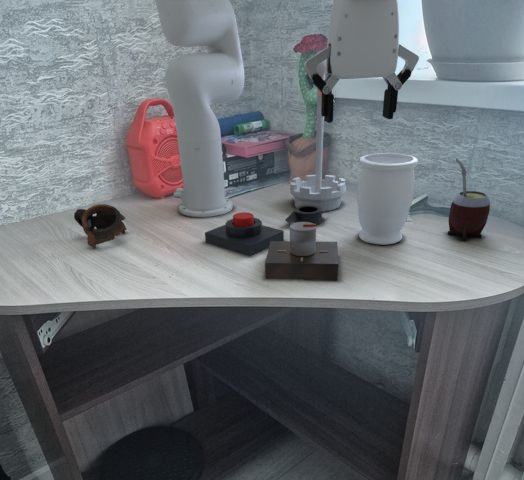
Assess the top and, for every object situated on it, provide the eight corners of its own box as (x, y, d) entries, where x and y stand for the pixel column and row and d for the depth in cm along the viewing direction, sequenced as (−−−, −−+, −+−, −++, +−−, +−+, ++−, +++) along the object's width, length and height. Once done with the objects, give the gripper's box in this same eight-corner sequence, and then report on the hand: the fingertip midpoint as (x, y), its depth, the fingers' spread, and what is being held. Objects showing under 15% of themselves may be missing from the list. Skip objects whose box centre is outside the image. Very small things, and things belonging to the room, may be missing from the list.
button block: (205, 243, 96) (203, 223, 94) (240, 229, 102) (239, 210, 100) (249, 257, 89) (248, 236, 87) (283, 241, 95) (283, 221, 93)
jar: (408, 249, 90) (420, 165, 82) (352, 246, 92) (358, 164, 84) (406, 229, 99) (416, 152, 90) (355, 227, 100) (360, 151, 92)
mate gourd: (483, 231, 96) (501, 151, 88) (482, 245, 90) (501, 161, 82) (444, 227, 99) (458, 150, 91) (441, 240, 93) (455, 159, 85)
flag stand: (294, 196, 122) (295, 57, 105) (346, 197, 119) (355, 55, 103) (286, 211, 111) (285, 60, 95) (343, 213, 109) (352, 58, 92)
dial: (289, 256, 81) (288, 228, 78) (290, 246, 85) (290, 219, 82) (315, 256, 80) (316, 228, 78) (315, 246, 84) (316, 219, 82)
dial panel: (265, 279, 81) (264, 262, 79) (271, 256, 89) (270, 240, 87) (337, 280, 79) (338, 262, 78) (336, 257, 88) (337, 240, 86)
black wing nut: (284, 217, 108) (284, 204, 106) (329, 216, 107) (330, 203, 106) (285, 229, 101) (284, 215, 100) (332, 228, 101) (333, 214, 99)
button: (229, 225, 94) (228, 216, 93) (243, 219, 96) (242, 210, 95) (244, 229, 91) (243, 220, 90) (258, 223, 94) (257, 214, 93)
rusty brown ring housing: (140, 234, 103) (132, 207, 95) (118, 268, 99) (108, 242, 91) (90, 217, 104) (79, 188, 97) (66, 249, 100) (53, 222, 93)
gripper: (416, -14, 71) (402, 113, 80) (301, -10, 70) (300, 119, 79) (437, -20, 65) (419, 120, 74) (311, -15, 64) (309, 126, 73)
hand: (358, 119), depth 77 cm, fingers open, 9 cm apart
